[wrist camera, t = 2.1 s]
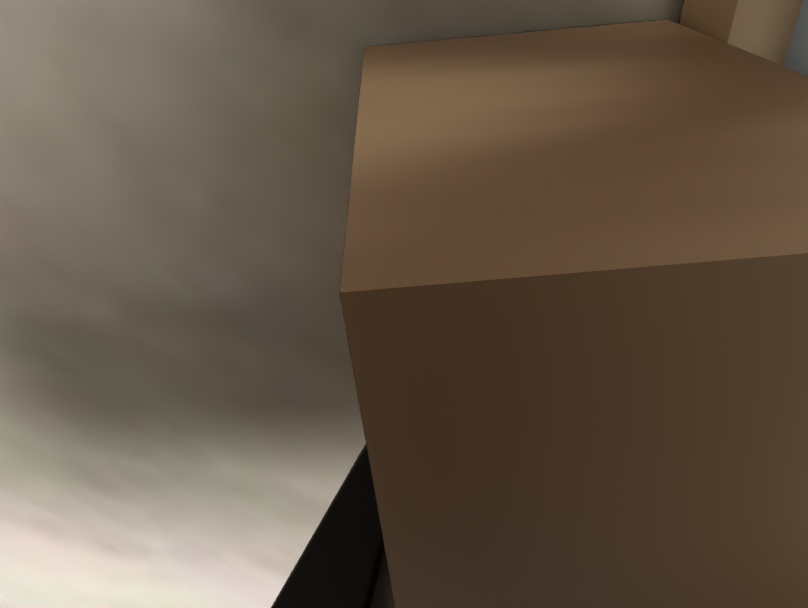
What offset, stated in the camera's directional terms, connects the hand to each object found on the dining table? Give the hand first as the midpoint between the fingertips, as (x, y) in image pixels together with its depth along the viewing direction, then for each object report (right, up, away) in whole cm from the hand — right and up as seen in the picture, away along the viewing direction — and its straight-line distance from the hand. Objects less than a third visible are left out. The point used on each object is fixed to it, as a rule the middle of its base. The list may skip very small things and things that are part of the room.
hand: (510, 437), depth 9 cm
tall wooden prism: (0, +1, +1) cm, 1 cm away
